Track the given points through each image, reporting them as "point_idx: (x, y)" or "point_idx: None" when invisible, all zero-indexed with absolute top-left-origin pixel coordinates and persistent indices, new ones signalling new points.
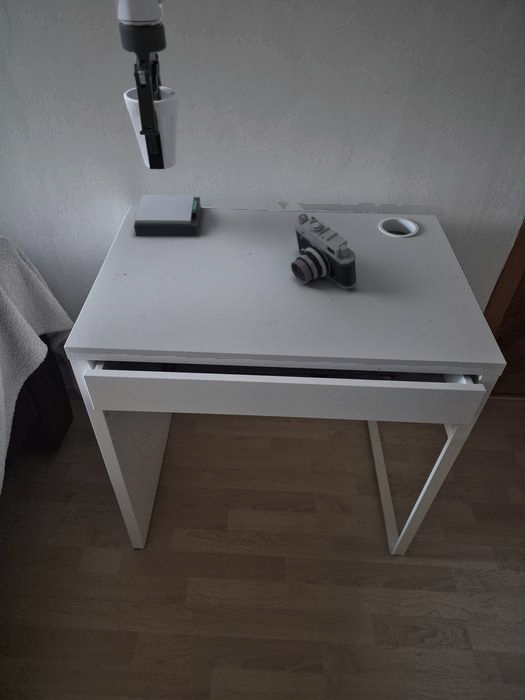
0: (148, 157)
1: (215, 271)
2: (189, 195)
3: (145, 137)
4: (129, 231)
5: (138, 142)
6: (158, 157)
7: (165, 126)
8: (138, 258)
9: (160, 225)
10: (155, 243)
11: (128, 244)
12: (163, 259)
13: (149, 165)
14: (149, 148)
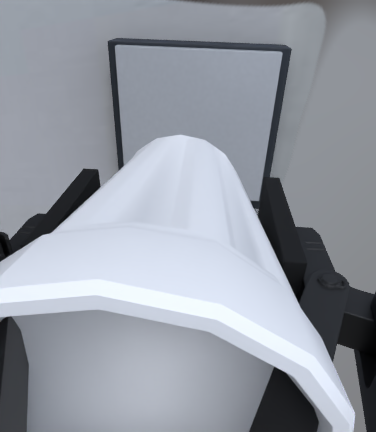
0: (67, 190)
1: (10, 216)
2: (258, 190)
3: (28, 237)
4: (139, 13)
5: (127, 164)
6: None
7: (79, 338)
8: (16, 59)
9: (114, 118)
10: (87, 96)
11: (72, 21)
12: (25, 120)
13: (79, 174)
14: (22, 226)
